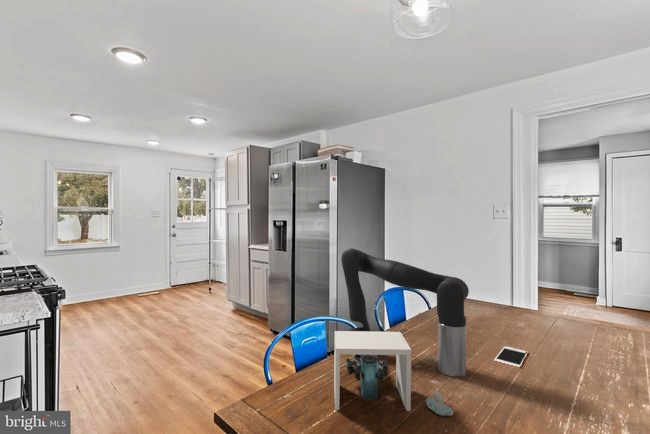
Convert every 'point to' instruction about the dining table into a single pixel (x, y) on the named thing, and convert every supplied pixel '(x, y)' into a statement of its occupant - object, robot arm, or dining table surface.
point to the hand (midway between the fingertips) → (370, 377)
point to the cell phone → (511, 356)
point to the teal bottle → (369, 376)
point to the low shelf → (375, 346)
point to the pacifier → (438, 405)
